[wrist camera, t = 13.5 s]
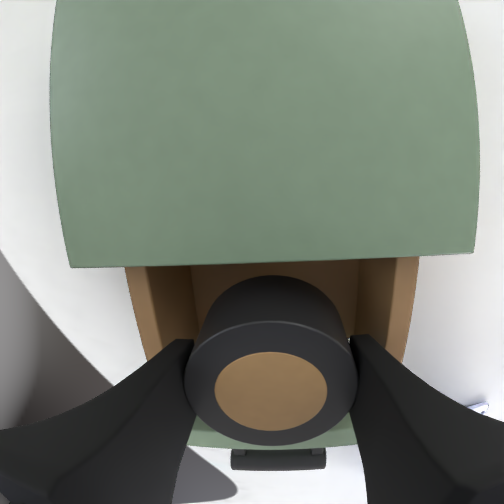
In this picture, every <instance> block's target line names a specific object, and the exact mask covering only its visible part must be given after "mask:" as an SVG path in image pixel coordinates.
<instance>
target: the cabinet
mask: <svg viewBox="0 0 504 504" xmlns="http://www.w3.org/2000/svg"><path fill="white" fill-rule="evenodd" d="M50 128H51V145H52V158H53V168H54V177H55V186H56V193H57V200H58V207H59V213H60V219H61V225H62V230H63V236H64V241H65V246H66V251H67V255H68V260H69V264H70V267H71V268H103V267H144V266H181V265H213V264H244V263H272V262H298V261H324V260H348V259H370V258H392V257H413V256H433V255H453V254H471V253H473V252H474V246H475V237H476V228H477V217H478V203H479V182H480V143H479V122H478V108H477V98H476V89H475V81H474V73H473V67H472V61H471V55H470V49H469V44H468V39H467V35H466V30H465V26H464V22H463V17H462V14H461V10H460V6H459V2H458V0H57V1H56V8H55V16H54V24H53V34H52V46H51V61H50Z"/></svg>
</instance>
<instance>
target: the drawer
mask: <svg viewBox="0 0 504 504" xmlns="http://www.w3.org/2000/svg"><path fill="white" fill-rule="evenodd" d="M418 265H419V256H413V257H392V258H370V259H348V260H324V261H298V262H272V263H244V264H213V265H181V266H144V267H124V268H125V273H126V278H127V283H128V287H129V292H130V296H131V301H132V305H133V309H134V313H135V318H136V322H137V326H138V330H139V333H140V337H141V341H142V345H143V348H144V352H145V355H146V359H147V361H149V360H150V359H151V358H152V357H154V356H155V355H156V354H157V353H159V352H160V351H161V350H162V349H163V348H165V347H166V346H167V345H168V344H170V343H171V342H172V341H173V340H175V339H194V344H195V342H196V340H197V338H198V335H199V333H200V330H201V328H202V325H203V323H204V321H205V318H206V316H207V313H208V311H209V309H210V307H211V306H212V304H213V303H214V302H215V300H216V299H217V298H218V297H219V296H220V295H221V294H222V293H223V292H224V291H225V290H227V289H228V288H230V287H231V286H233V285H235V284H237V283H239V282H241V281H244V280H246V279H249V278H253V277H258V276H265V275H282V276H289V277H293V278H297V279H300V280H303V281H305V282H308V283H310V284H311V285H313V286H315V287H317V288H318V289H319V290H321V291H322V292H323V293H325V294H326V295H327V297H328V298H329V299H330V300H331V301H332V302H333V304H334V305H335V307H336V308H337V310H338V312H339V315H340V318H341V321H342V324H343V327H344V330H345V333H346V336H347V338H350V335H362V334H369V335H370V336H371V337H372V338H374V339H375V340H376V341H377V342H378V343H379V344H380V345H381V346H382V347H383V348H384V349H386V350H387V351H388V352H389V353H390V354H391V355H392V356H393V357H394V358H396V359H397V360H398V361H399V362H400V363H401V364H402V361H403V356H404V352H405V347H406V342H407V337H408V332H409V326H410V321H411V315H412V309H413V303H414V296H415V289H416V282H417V274H418ZM355 444H357V440H356V436H355V433H354V429H353V425H352V421H351V418H350V414H349V412H348V414H347V415H346V416H345V417H344V418H343V419H342V420H341V421H340V422H339V423H338V424H337V425H336V426H334V427H333V428H332V429H330V430H329V431H327V432H325V433H324V434H322V435H320V436H318V437H315V438H313V439H311V440H308V441H304V442H301V443H297V444H292V445H285V446H259V445H252V444H247V443H243V442H240V441H236V440H233V439H231V438H228V437H226V436H224V435H222V434H220V433H218V432H216V431H215V430H213V429H212V428H210V427H209V426H208V425H207V424H205V423H204V422H203V421H202V420H201V419H200V418H199V417H198V416H196V419H195V422H194V425H193V428H192V431H191V433H190V436H189V439H188V442H187V445H190V446H200V447H212V448H227V449H232V450H231V468H232V469H233V470H250V471H292V470H313V469H324V468H325V467H326V448H325V447H336V446H347V445H355Z"/></svg>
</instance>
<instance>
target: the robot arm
mask: <svg viewBox="0 0 504 504" xmlns="http://www.w3.org/2000/svg"><path fill="white" fill-rule="evenodd" d="M194 345H195V344H194V339H175V340H173V341H172V342H171V343H170V344H168V345H167V346H166V347H165V348H163V349H162V350H161V351H160V352H159V353H157V354H156V355H155V356H154V357H152V358H151V359H150V360H149V361H147V362H146V363H145V364H144V365H142V366H141V367H140V368H139V369H137V370H136V371H135V372H133V373H132V374H131V375H129V376H128V377H126V378H125V379H124V380H122V381H121V382H119V383H118V384H117V385H115V386H114V387H112V388H111V389H109V390H107V391H106V392H104V393H102V394H101V395H99V396H97V397H95V398H94V399H92V400H90V401H88V402H86V403H84V404H82V405H80V406H78V407H75V408H73V409H71V410H69V411H66V412H64V413H62V414H59V415H56V416H54V417H51V418H48V419H45V420H42V421H38V422H35V423H32V424H28V425H23V426H19V427H13V428H9V429H3V430H0V492H1V493H2V494H3V495H4V496H5V497H6V498H7V499H8V500H9V501H10V503H9V504H172V498H173V493H174V487H175V483H176V478H177V472H178V470H179V466H180V463H181V460H182V457H183V453H184V451H185V448H186V445H187V442H188V439H189V436H190V433H191V431H192V428H193V425H194V422H195V419H196V416H197V415H196V413H195V412H194V411H193V409H192V408H191V406H190V404H189V402H188V400H187V397H186V394H185V390H184V372H185V367H186V365H187V362H188V360H189V357H190V355H191V352H192V350H193V347H194ZM349 345H350V348H351V351H352V354H353V358H354V361H355V364H356V367H357V371H358V376H359V387H358V393H357V396H356V399H355V402H354V404H353V406H352V408H351V409H350V411H349V414H350V418H351V421H352V425H353V429H354V433H355V436H356V440H357V444H358V448H359V451H360V455H361V459H362V463H363V468H364V474H365V482H366V491H367V502H368V504H504V422H502V421H499V420H496V419H493V418H490V417H488V416H485V413H486V411H487V409H488V406H489V404H488V403H487V402H482V403H479V404H475V405H472V406H468V407H465V406H463V405H461V404H459V403H458V402H456V401H454V400H452V399H450V398H449V397H447V396H445V395H444V394H442V393H440V392H439V391H437V390H436V389H434V388H433V387H431V386H430V385H428V384H427V383H426V382H424V381H423V380H422V379H420V378H419V377H417V376H416V375H415V374H414V373H412V372H411V371H410V370H409V369H407V368H406V367H405V366H404V365H403V364H401V363H400V362H399V361H398V360H397V359H396V358H394V357H393V356H392V355H391V354H390V353H389V352H388V351H387V350H386V349H384V348H383V347H382V346H381V345H380V344H379V343H378V342H377V341H376V340H375V339H374V338H372V337H371V336H370V335H369V334H362V335H350V342H349Z"/></svg>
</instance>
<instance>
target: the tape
mask: <svg viewBox="0 0 504 504" xmlns="http://www.w3.org/2000/svg"><path fill="white" fill-rule="evenodd" d="M358 387H359V376H358V371H357V367H356V364H355V361H354V358H353V354H352V351H351V348H350V345H349V342H348V339H347V336H346V333H345V330H344V327H343V324H342V321H341V318H340V315H339V312H338V310H337V308H336V307H335V305H334V304H333V302H332V301H331V300H330V299H329V298H328V297H327V295H326V294H325V293H323V292H322V291H321V290H319V289H318V288H317V287H315V286H313V285H311V284H310V283H308V282H305V281H303V280H300V279H297V278H293V277H289V276H282V275H265V276H258V277H253V278H249V279H246V280H244V281H241V282H239V283H237V284H235V285H233V286H231V287H230V288H228V289H227V290H225V291H224V292H223V293H222V294H221V295H220V296H219V297H218V298H217V299H216V300H215V302H214V303H213V304H212V306H211V307H210V309H209V311H208V313H207V316H206V318H205V321H204V323H203V325H202V328H201V330H200V333H199V335H198V338H197V340H196V342H195V345H194V347H193V350H192V352H191V355H190V357H189V360H188V362H187V365H186V367H185V372H184V390H185V394H186V397H187V400H188V402H189V404H190V406H191V408H192V409H193V411H194V412H195V413H196V415H197V416H198V417H199V418H200V419H201V420H202V421H203V422H204V423H205V424H207V425H208V426H209V427H210V428H212V429H213V430H215V431H216V432H218V433H220V434H222V435H224V436H226V437H228V438H231V439H233V440H236V441H240V442H243V443H247V444H252V445H259V446H285V445H292V444H297V443H301V442H304V441H308V440H311V439H313V438H315V437H318V436H320V435H322V434H324V433H325V432H327V431H329V430H330V429H332V428H333V427H334V426H336V425H337V424H338V423H339V422H340V421H341V420H342V419H343V418H344V417H345V416H346V415H347V414H348V412H349V411H350V409H351V408H352V406H353V404H354V402H355V399H356V396H357V393H358Z"/></svg>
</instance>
